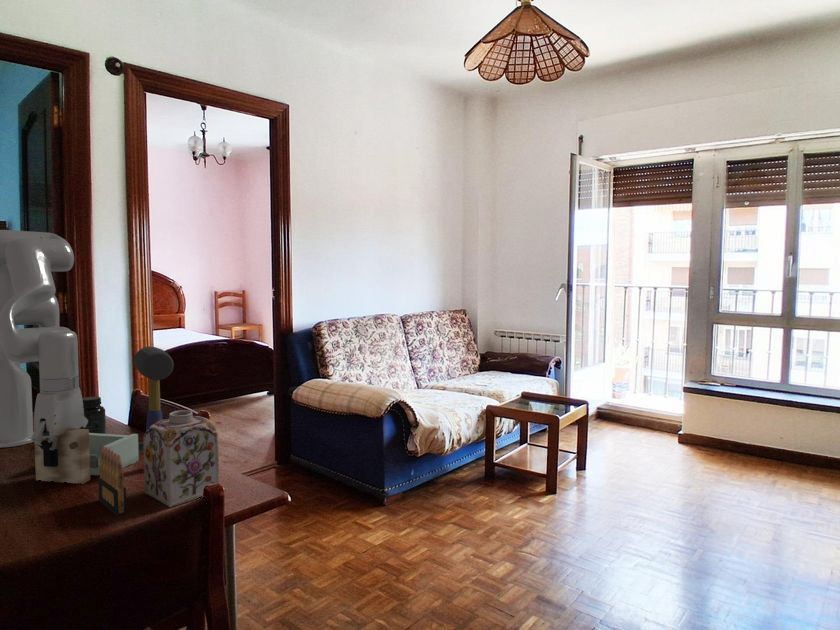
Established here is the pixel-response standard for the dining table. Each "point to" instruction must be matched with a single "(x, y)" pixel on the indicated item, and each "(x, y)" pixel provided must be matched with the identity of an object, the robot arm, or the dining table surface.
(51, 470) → the wooden block
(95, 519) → the dining table surface
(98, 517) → the dining table surface
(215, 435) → the decorative jar
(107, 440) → the cabinet
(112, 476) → the ammunition clip
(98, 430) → the supplement bottle
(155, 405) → the rubber mallet
